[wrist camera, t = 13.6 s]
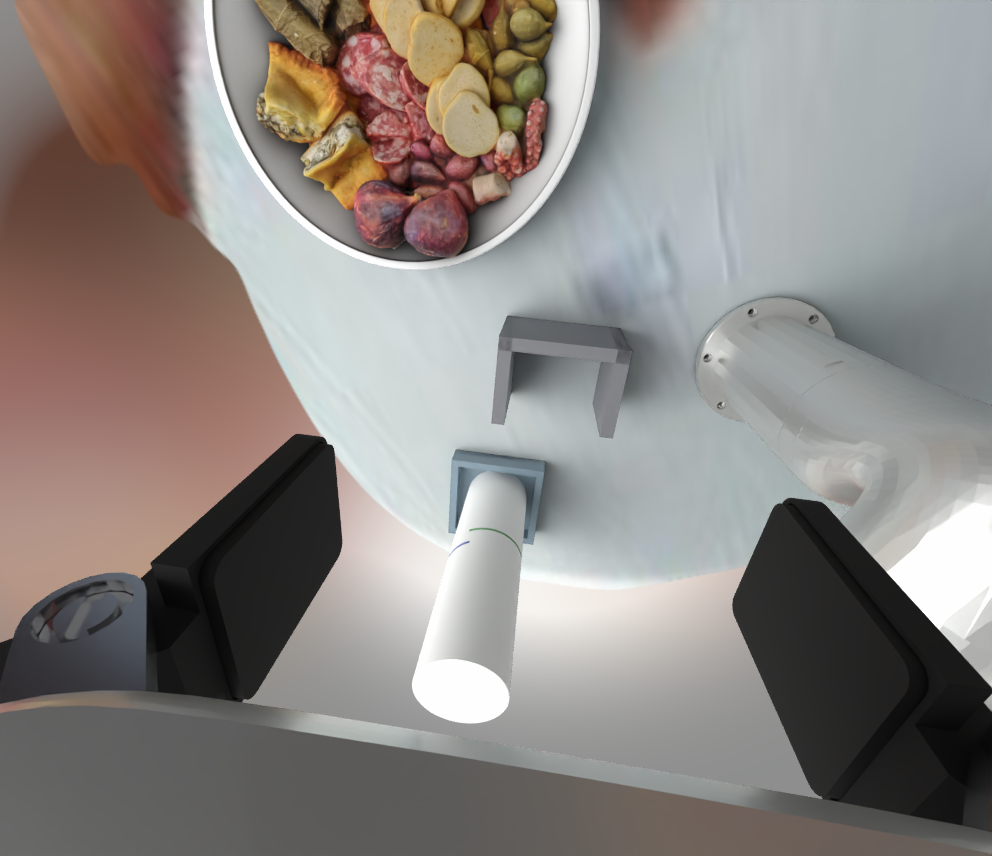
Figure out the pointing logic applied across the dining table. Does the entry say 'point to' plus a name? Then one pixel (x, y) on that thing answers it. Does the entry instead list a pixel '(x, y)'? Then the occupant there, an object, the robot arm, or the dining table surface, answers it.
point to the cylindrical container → (476, 607)
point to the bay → (569, 344)
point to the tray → (476, 463)
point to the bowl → (407, 114)
